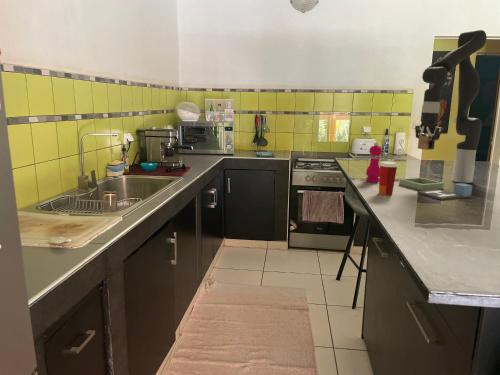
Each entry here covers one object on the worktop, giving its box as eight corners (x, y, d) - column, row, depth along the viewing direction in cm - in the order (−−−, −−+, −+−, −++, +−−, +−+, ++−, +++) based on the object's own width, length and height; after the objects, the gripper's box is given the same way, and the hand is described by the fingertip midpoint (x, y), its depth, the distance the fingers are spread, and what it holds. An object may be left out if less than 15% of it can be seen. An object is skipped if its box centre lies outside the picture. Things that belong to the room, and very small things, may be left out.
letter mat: (437, 191, 180) (438, 189, 180) (463, 198, 169) (463, 195, 168) (417, 193, 175) (417, 191, 175) (441, 200, 163) (442, 198, 163)
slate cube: (460, 193, 177) (462, 183, 176) (470, 196, 173) (472, 185, 172) (453, 194, 175) (454, 183, 174) (463, 197, 171) (464, 186, 170)
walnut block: (425, 148, 188) (426, 135, 187) (433, 149, 184) (435, 136, 182) (417, 148, 186) (419, 135, 185) (426, 149, 182) (427, 136, 180)
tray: (419, 183, 198) (420, 177, 197) (443, 189, 186) (443, 183, 185) (398, 184, 192) (399, 179, 192) (421, 191, 180) (422, 184, 179)
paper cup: (394, 192, 175) (397, 162, 172) (394, 196, 168) (398, 164, 165) (376, 191, 177) (379, 160, 174) (375, 194, 170) (379, 163, 167)
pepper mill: (380, 183, 195) (384, 143, 191) (365, 182, 197) (369, 142, 192) (379, 180, 202) (383, 142, 198) (364, 179, 204) (368, 141, 199)
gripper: (449, 112, 176) (444, 149, 180) (423, 111, 189) (419, 146, 193) (437, 112, 173) (432, 150, 177) (412, 111, 186) (408, 146, 190)
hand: (425, 148), depth 185 cm, fingers closed on walnut block, 5 cm apart
